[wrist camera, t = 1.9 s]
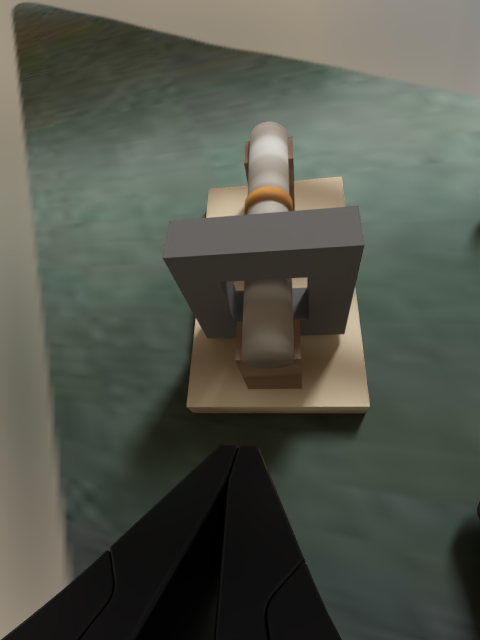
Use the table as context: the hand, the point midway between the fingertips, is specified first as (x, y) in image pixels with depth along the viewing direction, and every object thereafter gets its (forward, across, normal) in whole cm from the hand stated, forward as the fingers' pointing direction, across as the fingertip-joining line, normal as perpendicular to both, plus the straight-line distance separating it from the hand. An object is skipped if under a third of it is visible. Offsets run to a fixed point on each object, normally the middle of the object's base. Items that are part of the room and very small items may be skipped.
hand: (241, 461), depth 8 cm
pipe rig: (+18, 0, 0) cm, 18 cm away
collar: (+14, 0, +1) cm, 14 cm away
